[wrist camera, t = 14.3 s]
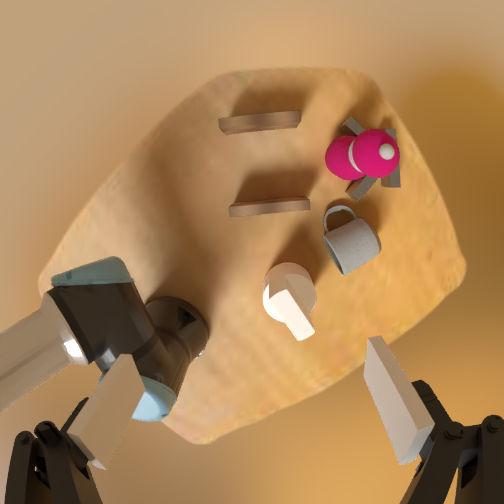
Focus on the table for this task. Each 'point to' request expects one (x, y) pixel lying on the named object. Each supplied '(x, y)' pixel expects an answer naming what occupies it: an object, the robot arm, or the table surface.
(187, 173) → the table surface
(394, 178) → the letter k block
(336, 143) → the pepper mill
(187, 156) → the table surface
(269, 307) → the base with upright slab
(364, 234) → the ceramic mug
